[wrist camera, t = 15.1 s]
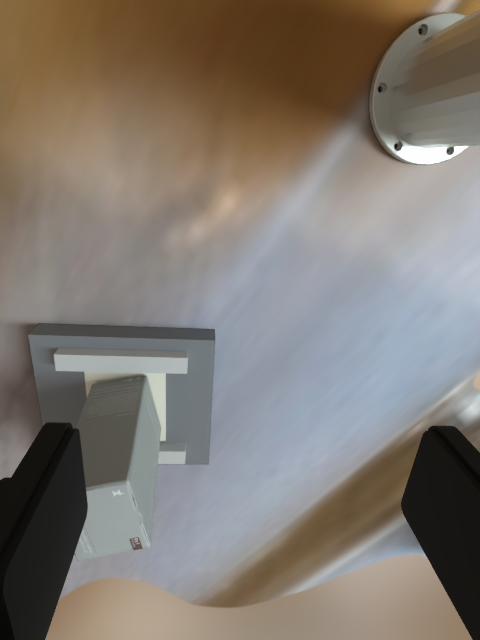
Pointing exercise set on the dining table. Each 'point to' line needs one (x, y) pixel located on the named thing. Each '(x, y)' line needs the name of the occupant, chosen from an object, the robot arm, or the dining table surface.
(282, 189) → the dining table surface
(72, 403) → the panel
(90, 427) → the skincare box
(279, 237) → the dining table surface
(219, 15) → the dining table surface
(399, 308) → the dining table surface
